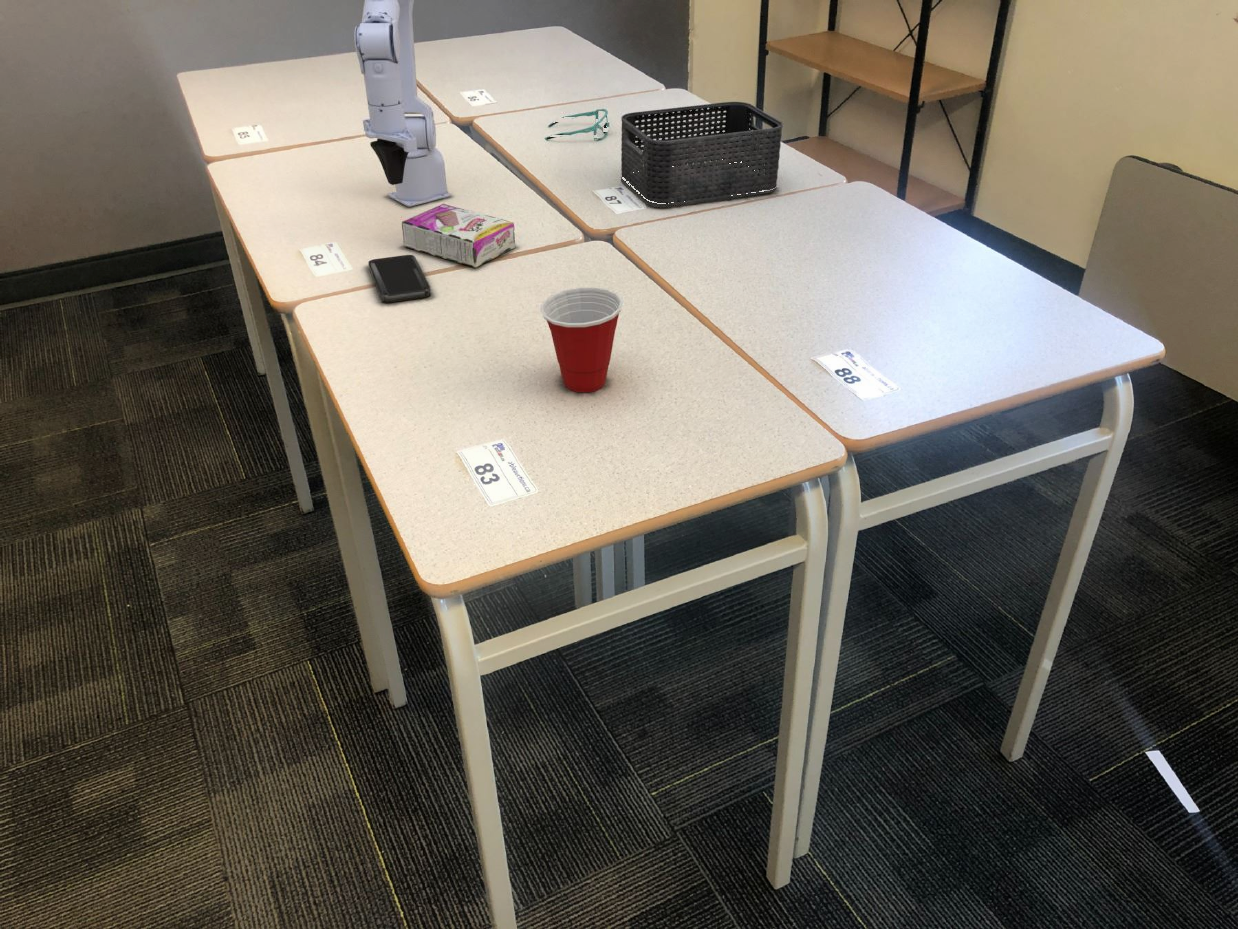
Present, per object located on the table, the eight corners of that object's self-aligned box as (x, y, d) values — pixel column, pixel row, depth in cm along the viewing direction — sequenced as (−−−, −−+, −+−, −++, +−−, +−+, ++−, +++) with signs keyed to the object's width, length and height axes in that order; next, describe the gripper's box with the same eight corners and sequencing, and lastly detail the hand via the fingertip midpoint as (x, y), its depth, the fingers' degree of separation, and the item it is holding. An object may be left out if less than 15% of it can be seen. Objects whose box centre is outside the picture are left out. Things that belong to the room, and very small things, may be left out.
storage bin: (651, 210, 182) (653, 140, 174) (615, 178, 197) (616, 112, 189) (782, 193, 191) (790, 125, 183) (738, 164, 205) (744, 99, 197)
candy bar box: (442, 201, 171) (515, 221, 164) (444, 227, 174) (516, 248, 167) (399, 220, 163) (474, 241, 156) (402, 247, 166) (476, 269, 159)
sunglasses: (609, 143, 216) (607, 120, 213) (544, 148, 217) (541, 126, 214) (611, 125, 227) (609, 103, 224) (549, 130, 228) (546, 109, 225)
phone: (381, 297, 148) (367, 259, 159) (382, 303, 148) (368, 266, 160) (432, 289, 150) (414, 253, 161) (432, 296, 150) (415, 259, 162)
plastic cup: (542, 363, 134) (538, 285, 127) (618, 361, 135) (619, 283, 128) (543, 404, 125) (540, 322, 118) (625, 401, 126) (626, 320, 119)
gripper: (342, 96, 159) (354, 176, 167) (385, 115, 150) (396, 199, 158) (380, 89, 163) (390, 168, 170) (424, 108, 154) (432, 190, 162)
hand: (395, 182), depth 164 cm, fingers closed
